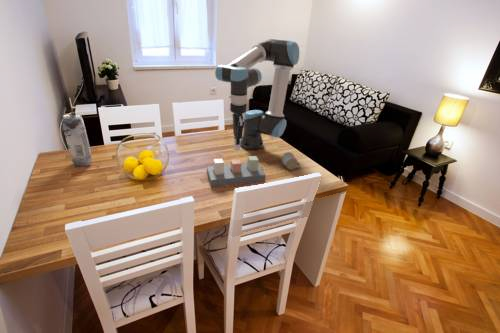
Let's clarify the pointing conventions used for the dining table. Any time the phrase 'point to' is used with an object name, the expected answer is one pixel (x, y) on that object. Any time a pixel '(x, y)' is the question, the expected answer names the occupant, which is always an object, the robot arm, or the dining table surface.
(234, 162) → the key terracotta
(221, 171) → the key cream
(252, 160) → the key sage
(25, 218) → the dining table surface
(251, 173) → the console
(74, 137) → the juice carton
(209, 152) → the dining table surface
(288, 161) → the ceramic mug
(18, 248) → the dining table surface
